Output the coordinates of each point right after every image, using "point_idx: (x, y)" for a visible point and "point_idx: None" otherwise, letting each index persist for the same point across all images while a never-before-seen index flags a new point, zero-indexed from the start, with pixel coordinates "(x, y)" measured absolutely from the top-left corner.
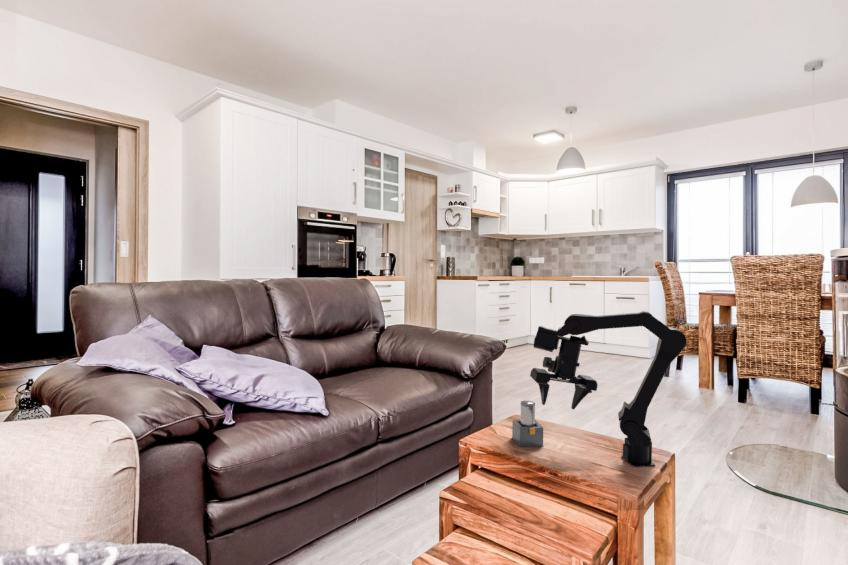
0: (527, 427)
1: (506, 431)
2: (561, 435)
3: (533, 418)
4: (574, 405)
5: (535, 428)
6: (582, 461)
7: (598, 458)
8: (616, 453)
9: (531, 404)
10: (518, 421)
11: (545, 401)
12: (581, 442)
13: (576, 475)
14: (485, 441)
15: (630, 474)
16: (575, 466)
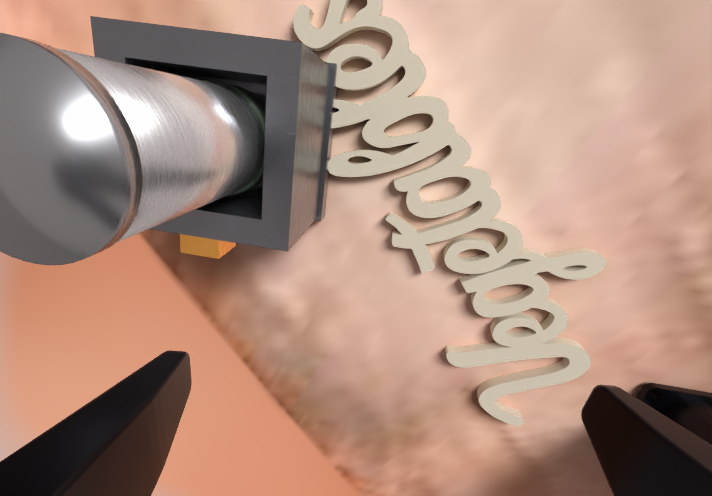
0: (172, 220)
1: None
2: (569, 15)
3: (199, 205)
4: (612, 488)
5: (229, 240)
6: (433, 367)
7: (528, 361)
8: (669, 340)
9: (54, 256)
10: (139, 58)
11: (156, 465)
12: (608, 167)
13: (334, 446)
14: (37, 30)
15: (537, 490)
16: (373, 394)
